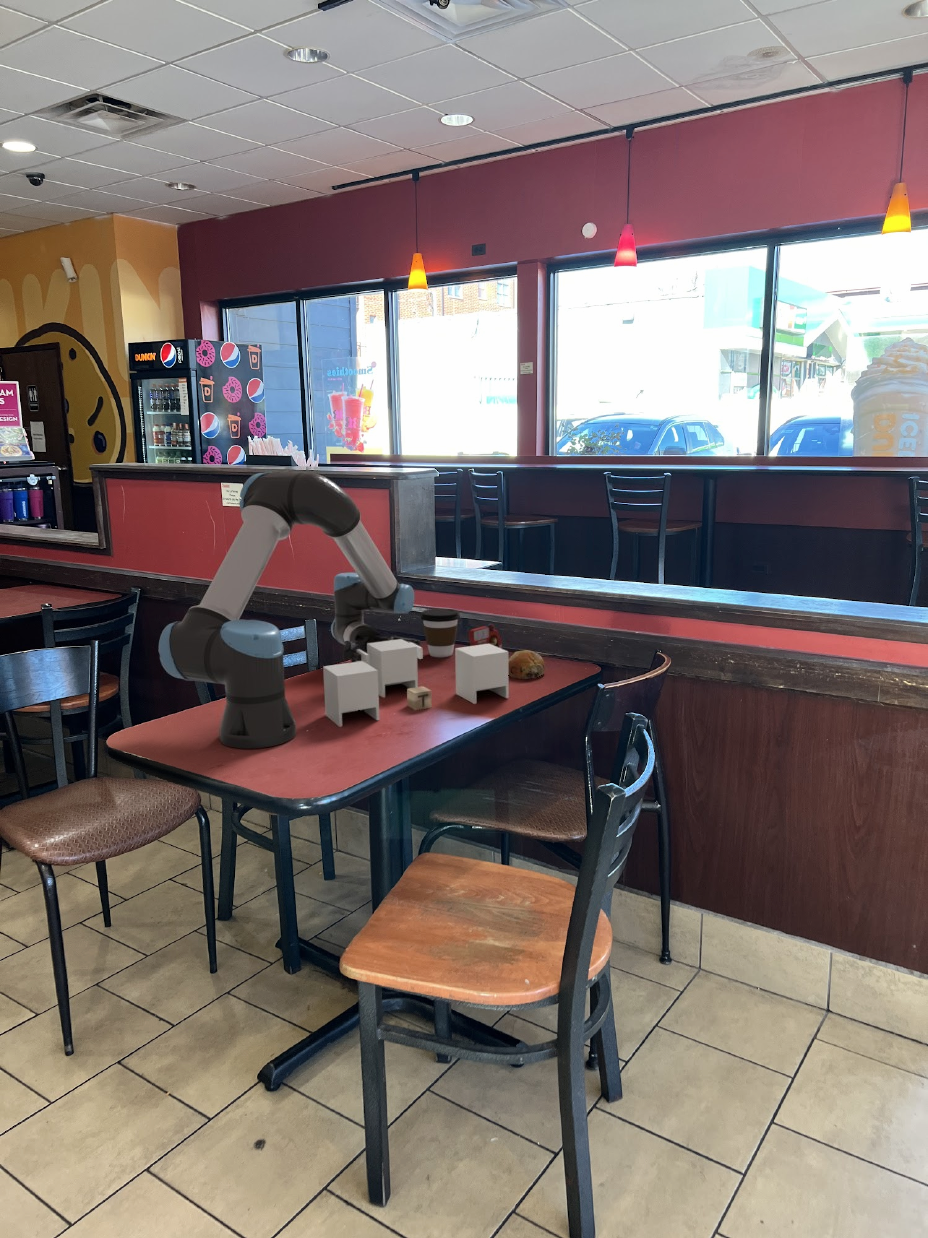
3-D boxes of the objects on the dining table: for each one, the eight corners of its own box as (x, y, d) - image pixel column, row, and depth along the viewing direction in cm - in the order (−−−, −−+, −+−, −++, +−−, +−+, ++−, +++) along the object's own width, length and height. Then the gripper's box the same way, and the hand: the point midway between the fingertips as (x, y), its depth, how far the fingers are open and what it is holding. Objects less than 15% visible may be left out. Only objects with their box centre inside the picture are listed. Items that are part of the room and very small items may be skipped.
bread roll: (545, 685, 227) (545, 654, 229) (545, 678, 218) (545, 646, 219) (506, 684, 228) (507, 654, 230) (504, 678, 218) (505, 646, 220)
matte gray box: (474, 703, 200) (473, 656, 198) (455, 693, 208) (455, 648, 206) (508, 698, 204) (508, 651, 202) (489, 688, 212) (489, 643, 210)
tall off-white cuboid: (382, 697, 206) (381, 651, 204) (368, 687, 214) (366, 643, 212) (418, 691, 210) (416, 646, 208) (402, 682, 218) (401, 639, 216)
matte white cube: (339, 726, 186) (337, 676, 184) (325, 715, 194) (323, 666, 191) (379, 720, 190) (377, 670, 188) (364, 708, 198) (362, 661, 195)
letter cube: (415, 710, 196) (415, 693, 195) (407, 706, 200) (407, 688, 199) (431, 707, 198) (431, 690, 197) (423, 703, 202) (423, 686, 201)
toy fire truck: (510, 661, 237) (510, 623, 235) (481, 671, 228) (481, 631, 226) (490, 657, 242) (490, 620, 239) (461, 666, 232) (460, 628, 230)
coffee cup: (443, 647, 253) (443, 606, 250) (468, 654, 244) (468, 612, 242) (413, 654, 246) (412, 611, 243) (437, 661, 237) (436, 617, 235)
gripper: (407, 647, 235) (442, 665, 216) (316, 659, 223) (345, 679, 205) (406, 619, 233) (442, 635, 215) (315, 630, 222) (344, 647, 203)
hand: (395, 657), depth 210 cm, fingers open, 13 cm apart
